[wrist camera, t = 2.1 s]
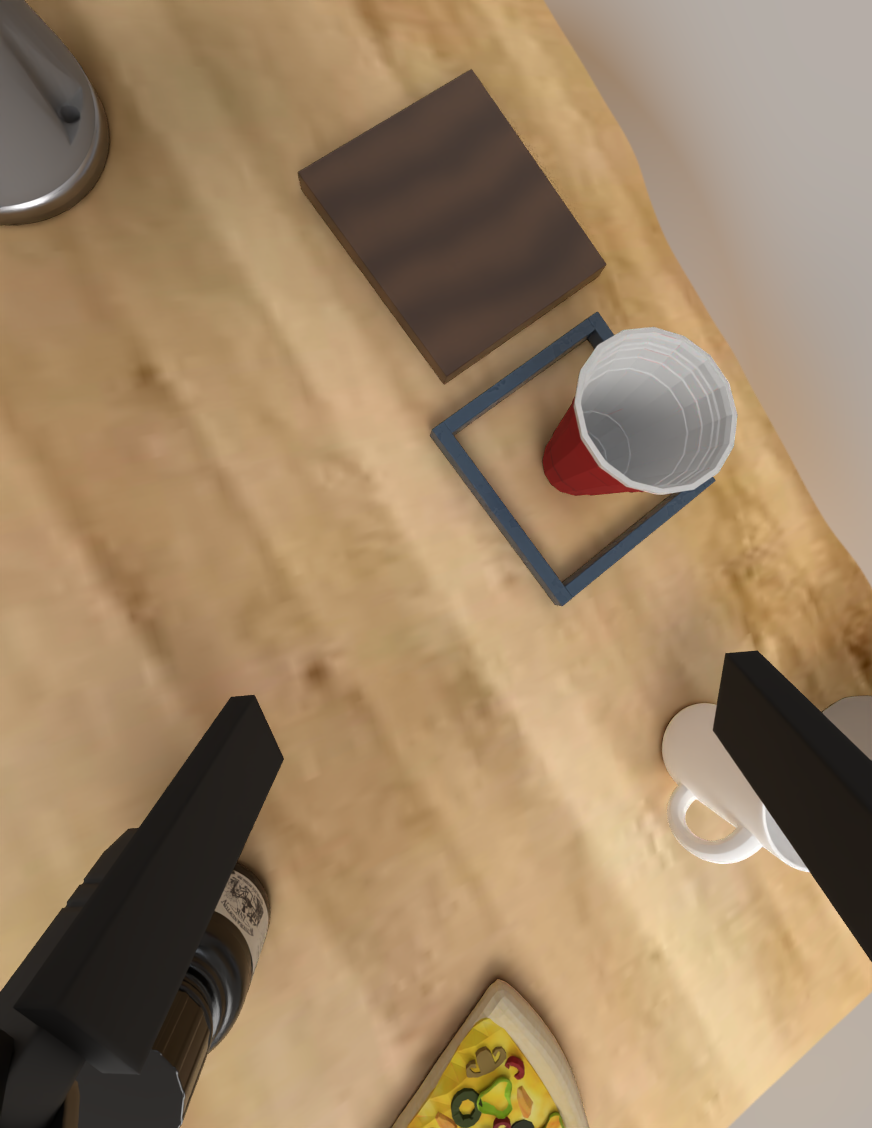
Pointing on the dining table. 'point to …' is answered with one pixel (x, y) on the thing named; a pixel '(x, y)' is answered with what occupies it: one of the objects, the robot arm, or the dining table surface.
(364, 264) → the walnut board
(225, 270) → the dining table surface
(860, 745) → the egg container
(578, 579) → the square frame
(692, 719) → the mug
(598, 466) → the plastic cup
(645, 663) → the dining table surface
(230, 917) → the ink bottle
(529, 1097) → the pizza slice
